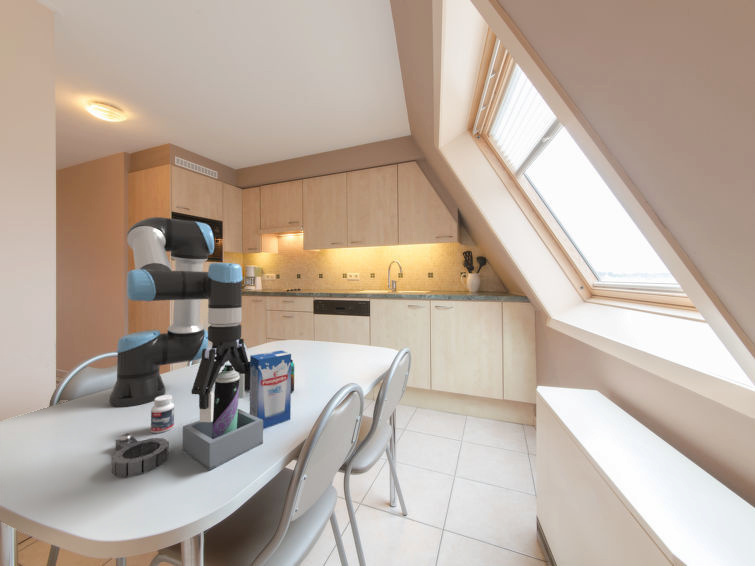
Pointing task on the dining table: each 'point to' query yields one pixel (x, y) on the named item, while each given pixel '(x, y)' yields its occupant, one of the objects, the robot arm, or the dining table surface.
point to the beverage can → (292, 376)
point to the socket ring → (138, 455)
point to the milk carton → (270, 387)
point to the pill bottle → (162, 414)
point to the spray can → (225, 402)
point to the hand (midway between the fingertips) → (224, 408)
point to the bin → (222, 440)
